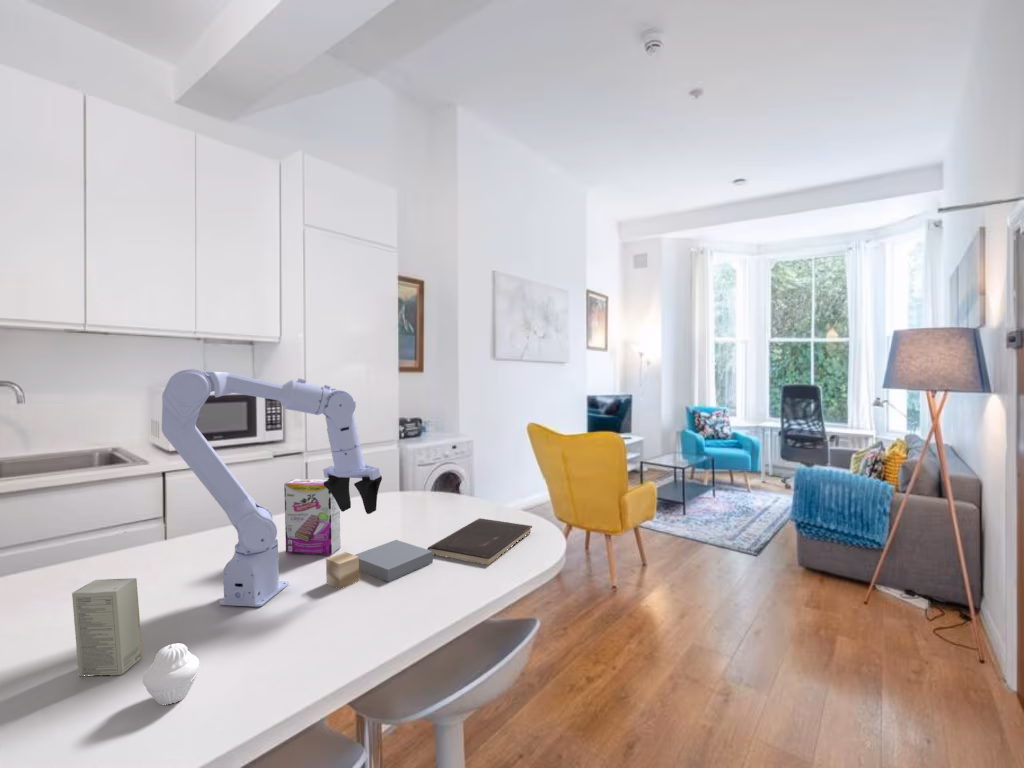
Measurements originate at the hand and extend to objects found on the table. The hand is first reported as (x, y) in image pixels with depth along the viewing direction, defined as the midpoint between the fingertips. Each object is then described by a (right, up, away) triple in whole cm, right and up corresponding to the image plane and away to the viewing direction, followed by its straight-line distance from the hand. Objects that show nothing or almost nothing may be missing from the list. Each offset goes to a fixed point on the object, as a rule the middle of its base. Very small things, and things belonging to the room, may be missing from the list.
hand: (358, 510), depth 104 cm
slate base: (+6, -13, +4) cm, 14 cm away
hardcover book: (+25, -13, +17) cm, 32 cm away
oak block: (-2, -13, -5) cm, 14 cm away
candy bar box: (-14, -13, +12) cm, 22 cm away
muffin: (-12, -15, -39) cm, 43 cm away
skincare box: (-26, -15, -32) cm, 44 cm away
